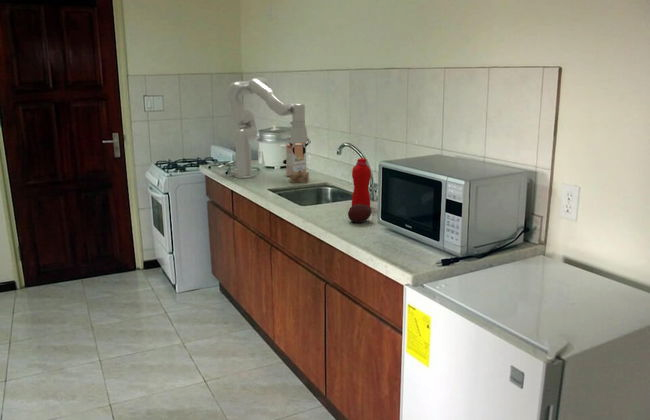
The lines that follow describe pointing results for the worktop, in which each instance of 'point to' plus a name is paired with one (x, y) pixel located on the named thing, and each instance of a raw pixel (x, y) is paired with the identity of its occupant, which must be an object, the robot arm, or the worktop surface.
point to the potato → (359, 213)
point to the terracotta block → (298, 150)
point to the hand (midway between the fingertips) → (299, 153)
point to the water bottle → (361, 183)
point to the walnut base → (299, 177)
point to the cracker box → (294, 161)
